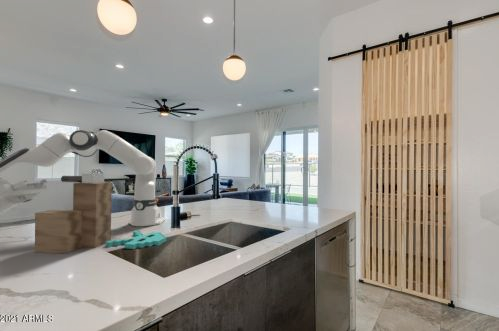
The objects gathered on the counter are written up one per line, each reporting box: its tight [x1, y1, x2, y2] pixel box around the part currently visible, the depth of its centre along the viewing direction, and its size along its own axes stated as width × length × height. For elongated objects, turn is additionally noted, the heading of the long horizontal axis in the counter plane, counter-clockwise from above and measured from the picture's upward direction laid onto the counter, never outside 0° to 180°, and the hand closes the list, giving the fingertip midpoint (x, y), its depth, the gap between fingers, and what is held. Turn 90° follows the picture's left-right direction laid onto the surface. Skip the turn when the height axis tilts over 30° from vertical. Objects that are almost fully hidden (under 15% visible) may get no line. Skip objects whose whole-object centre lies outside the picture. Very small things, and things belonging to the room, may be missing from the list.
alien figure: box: [105, 230, 167, 250], centre depth 115 cm, size 20×2×20 cm
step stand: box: [34, 181, 113, 254], centre depth 108 cm, size 18×19×26 cm
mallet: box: [60, 172, 105, 183], centre depth 112 cm, size 7×16×4 cm, turn 85°
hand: (36, 181), depth 114 cm, fingers open, 8 cm apart
